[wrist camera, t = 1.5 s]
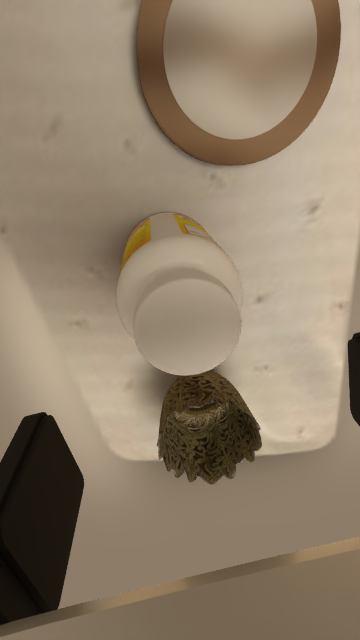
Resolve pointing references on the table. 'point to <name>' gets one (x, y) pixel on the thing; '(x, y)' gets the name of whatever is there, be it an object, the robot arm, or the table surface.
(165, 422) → the brown scalloped shell
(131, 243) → the supplement bottle
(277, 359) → the table surface
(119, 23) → the table surface
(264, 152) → the plate
